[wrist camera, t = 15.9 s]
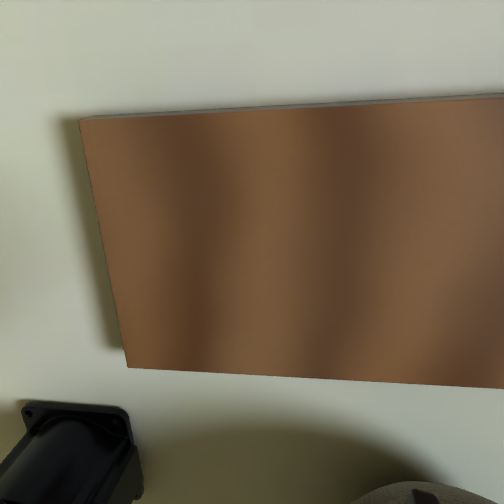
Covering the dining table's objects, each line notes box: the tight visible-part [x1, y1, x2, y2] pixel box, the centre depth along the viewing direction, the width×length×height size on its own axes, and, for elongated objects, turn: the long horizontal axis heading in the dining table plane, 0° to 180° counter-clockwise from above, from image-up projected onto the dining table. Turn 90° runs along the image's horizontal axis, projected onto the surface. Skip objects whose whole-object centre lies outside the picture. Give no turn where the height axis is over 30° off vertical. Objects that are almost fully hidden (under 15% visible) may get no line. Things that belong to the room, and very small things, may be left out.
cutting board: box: [78, 93, 504, 389], centre depth 20 cm, size 20×12×2 cm, turn 95°
